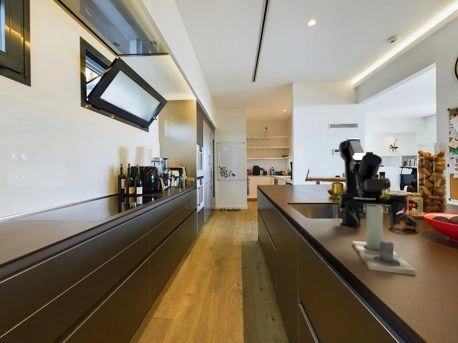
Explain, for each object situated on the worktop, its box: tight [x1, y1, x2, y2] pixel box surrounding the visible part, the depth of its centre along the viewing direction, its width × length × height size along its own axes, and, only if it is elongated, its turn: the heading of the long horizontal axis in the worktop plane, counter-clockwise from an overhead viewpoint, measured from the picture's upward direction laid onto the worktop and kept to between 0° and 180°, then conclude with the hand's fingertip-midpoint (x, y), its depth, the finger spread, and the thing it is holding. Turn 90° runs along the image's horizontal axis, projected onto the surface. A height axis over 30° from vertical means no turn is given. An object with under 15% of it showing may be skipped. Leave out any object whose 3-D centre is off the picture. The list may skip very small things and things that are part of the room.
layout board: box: [351, 240, 416, 276], centre depth 68 cm, size 20×10×6 cm, turn 163°
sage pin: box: [365, 205, 384, 250], centre depth 72 cm, size 4×4×13 cm
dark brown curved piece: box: [388, 211, 420, 233], centre depth 99 cm, size 12×10×8 cm
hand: (376, 224), depth 71 cm, fingers open, 9 cm apart
